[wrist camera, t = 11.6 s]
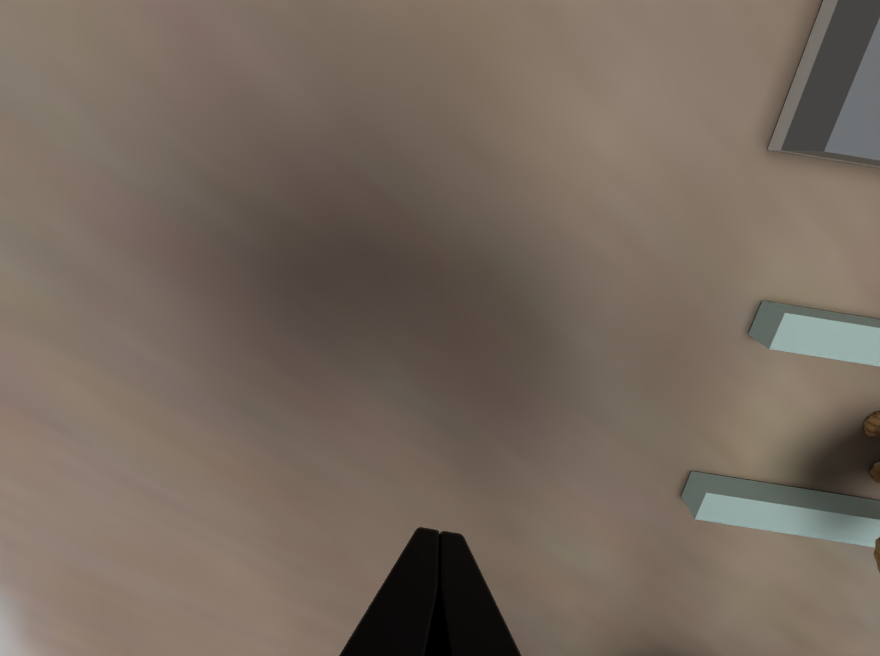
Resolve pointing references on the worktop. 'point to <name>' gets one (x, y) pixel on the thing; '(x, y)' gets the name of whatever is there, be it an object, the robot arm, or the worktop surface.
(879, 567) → the lion figurine
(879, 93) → the button housing
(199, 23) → the worktop surface
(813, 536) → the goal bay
